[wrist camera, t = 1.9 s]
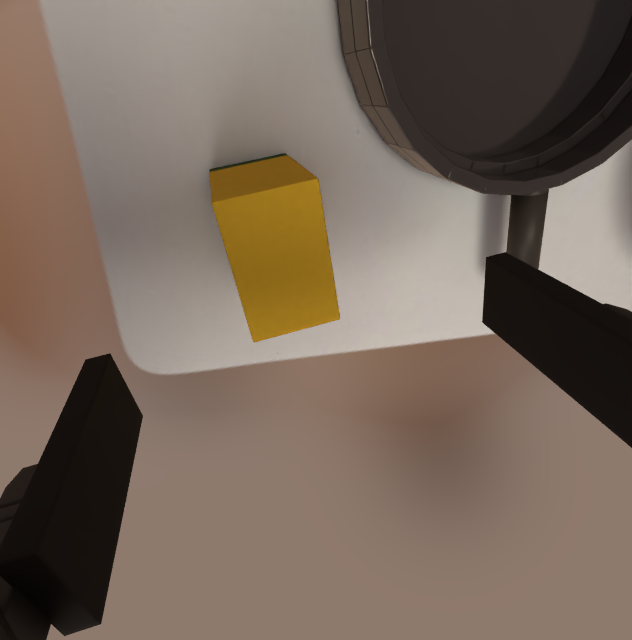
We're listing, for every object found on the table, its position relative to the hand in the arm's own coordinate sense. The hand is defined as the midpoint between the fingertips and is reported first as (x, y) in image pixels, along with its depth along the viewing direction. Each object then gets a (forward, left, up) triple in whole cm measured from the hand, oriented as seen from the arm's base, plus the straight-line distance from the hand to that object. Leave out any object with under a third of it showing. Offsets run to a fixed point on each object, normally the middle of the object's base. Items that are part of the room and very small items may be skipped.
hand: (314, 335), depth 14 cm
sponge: (0, 0, -13) cm, 13 cm away
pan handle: (+4, +16, -11) cm, 20 cm away
